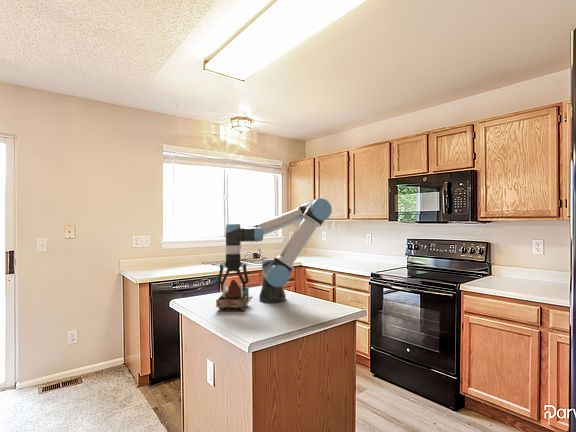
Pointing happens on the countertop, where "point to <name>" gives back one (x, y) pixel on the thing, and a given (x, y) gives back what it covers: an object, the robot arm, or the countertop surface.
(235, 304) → the shallow wooden tray
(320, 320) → the countertop surface
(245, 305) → the track
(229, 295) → the poop emoji
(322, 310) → the countertop surface
